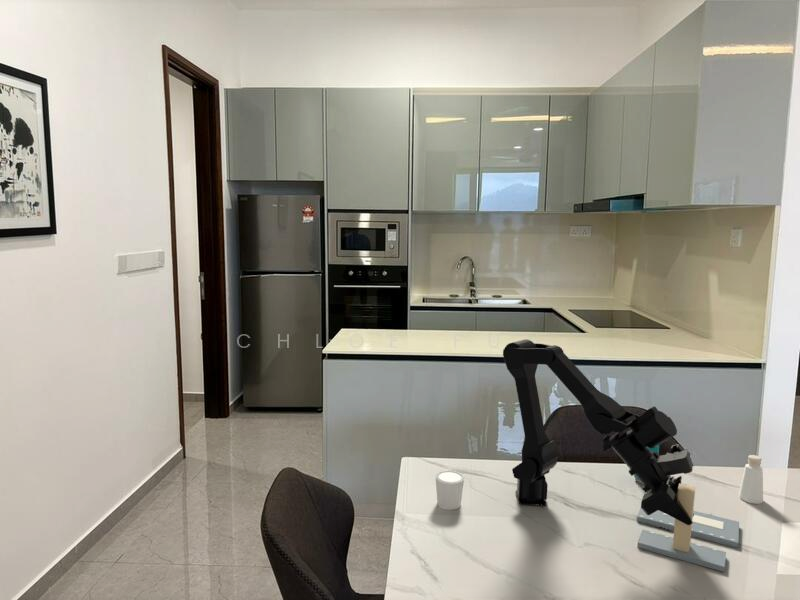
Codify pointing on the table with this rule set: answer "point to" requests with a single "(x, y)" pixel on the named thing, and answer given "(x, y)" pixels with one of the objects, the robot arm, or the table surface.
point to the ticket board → (698, 526)
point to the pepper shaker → (752, 481)
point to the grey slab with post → (683, 539)
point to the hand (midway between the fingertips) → (691, 520)
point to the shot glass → (449, 489)
